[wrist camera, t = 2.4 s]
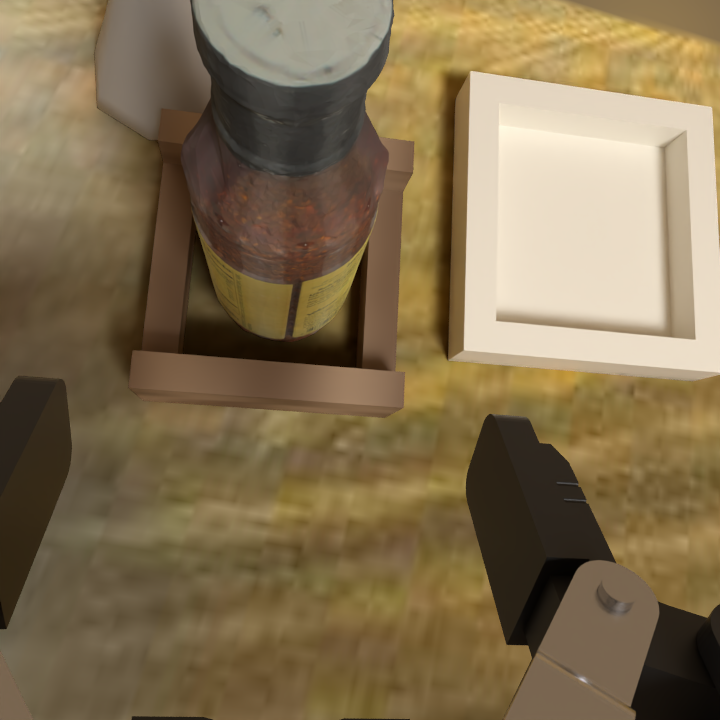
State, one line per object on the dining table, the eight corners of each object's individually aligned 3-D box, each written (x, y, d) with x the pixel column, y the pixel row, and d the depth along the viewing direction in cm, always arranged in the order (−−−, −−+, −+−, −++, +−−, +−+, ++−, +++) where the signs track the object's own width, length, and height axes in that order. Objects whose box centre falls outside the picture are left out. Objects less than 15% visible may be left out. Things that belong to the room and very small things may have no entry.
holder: (143, 400, 31) (128, 387, 27) (171, 153, 33) (161, 108, 29) (384, 417, 32) (403, 407, 28) (395, 180, 35) (414, 141, 31)
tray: (447, 360, 33) (463, 350, 31) (455, 99, 36) (470, 70, 34) (692, 381, 35) (725, 373, 33) (682, 131, 38) (712, 107, 35)
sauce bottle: (340, 220, 34) (465, -139, 14) (349, 345, 33) (498, 136, 13) (203, 222, 33) (141, -163, 13) (209, 351, 32) (150, 134, 12)
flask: (116, -6, 34) (65, -203, 24) (259, 36, 35) (264, -138, 25) (73, 122, 33) (0, -34, 23) (224, 163, 33) (215, 29, 24)
